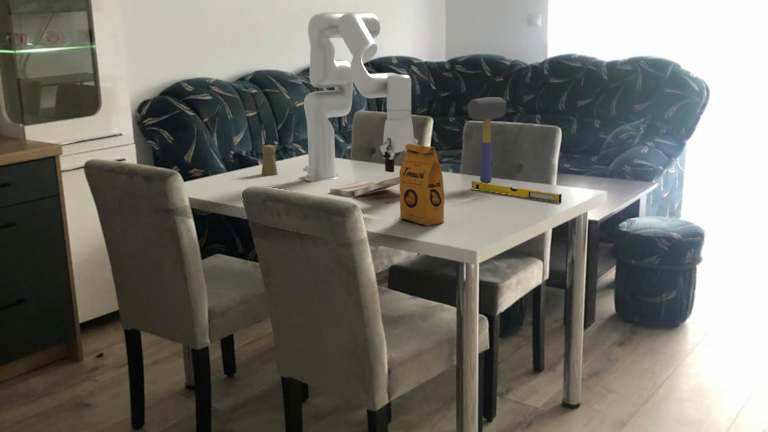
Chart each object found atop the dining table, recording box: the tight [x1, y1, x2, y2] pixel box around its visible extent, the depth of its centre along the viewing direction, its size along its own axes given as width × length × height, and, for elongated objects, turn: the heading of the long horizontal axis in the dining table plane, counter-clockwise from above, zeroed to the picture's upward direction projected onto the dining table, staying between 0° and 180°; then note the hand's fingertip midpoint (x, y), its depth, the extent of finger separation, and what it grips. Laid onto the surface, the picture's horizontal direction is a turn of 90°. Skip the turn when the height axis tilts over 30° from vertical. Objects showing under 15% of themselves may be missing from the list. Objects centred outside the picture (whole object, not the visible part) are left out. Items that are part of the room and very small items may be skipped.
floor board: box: [329, 180, 400, 204], centre depth 268 cm, size 26×17×3 cm, turn 49°
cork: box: [261, 144, 278, 177], centre depth 308 cm, size 6×6×11 cm
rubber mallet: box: [467, 96, 507, 184], centre depth 282 cm, size 12×8×30 cm, turn 122°
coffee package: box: [399, 143, 445, 227], centre depth 232 cm, size 10×12×22 cm
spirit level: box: [471, 180, 563, 203], centre depth 267 cm, size 33×1×3 cm, turn 48°
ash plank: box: [354, 176, 400, 196], centre depth 264 cm, size 14×15×2 cm
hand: (399, 169), depth 259 cm, fingers open, 9 cm apart
